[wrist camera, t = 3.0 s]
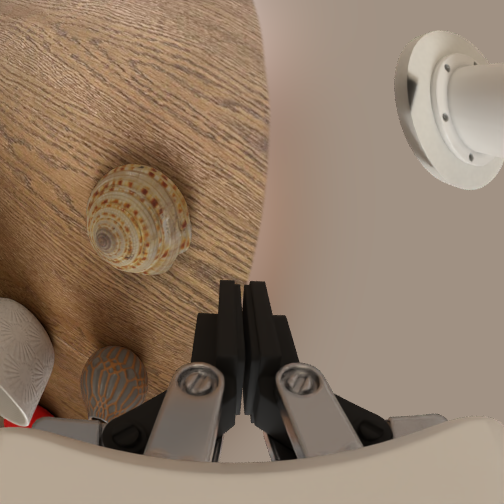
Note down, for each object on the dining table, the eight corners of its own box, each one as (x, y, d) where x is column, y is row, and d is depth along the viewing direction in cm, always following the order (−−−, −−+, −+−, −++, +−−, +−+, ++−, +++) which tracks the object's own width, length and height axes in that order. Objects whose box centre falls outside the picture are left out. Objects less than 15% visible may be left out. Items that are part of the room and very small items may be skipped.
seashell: (186, 292, 20) (79, 289, 16) (171, 256, 24) (85, 251, 20) (210, 184, 17) (83, 168, 13) (190, 167, 21) (93, 154, 17)
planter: (64, 318, 23) (16, 392, 13) (64, 378, 27) (36, 439, 17) (-11, 269, 20) (-65, 319, 10) (-1, 336, 25) (-36, 385, 15)
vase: (165, 364, 26) (150, 434, 18) (133, 386, 28) (116, 446, 20) (113, 324, 24) (80, 391, 16) (86, 352, 25) (57, 411, 17)
